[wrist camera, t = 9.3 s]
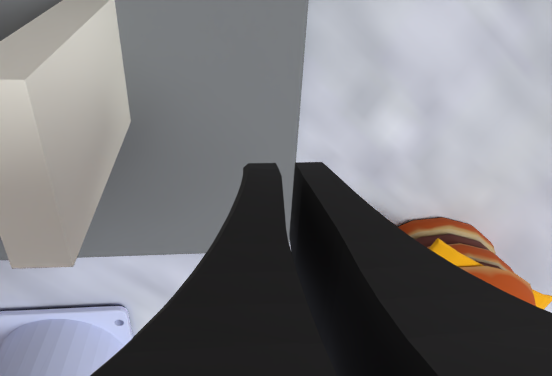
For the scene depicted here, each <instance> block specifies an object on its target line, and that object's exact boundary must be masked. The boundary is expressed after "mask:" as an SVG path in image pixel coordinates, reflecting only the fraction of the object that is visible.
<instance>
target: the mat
mask: <svg viewBox="0 0 552 376" xmlns="http://www.w3.org/2000/svg"><path fill="white" fill-rule="evenodd" d="M61 1H62V0H0V41H2V40H3V39H5V38H6V37H8V36H9V35H11V34H12V33H14V32H15V31H17V30H18V29H20V28H21V27H23V26H24V25H26V24H28V23H29V22H31V21H32V20H34V19H35V18H37V17H38V16H40V15H41V14H43V13H44V12H46V11H47V10H49V9H50V8H52V7H53V6H55V5H56V4H58V3H59V2H61ZM115 7H116V14H117V22H118V29H119V37H120V44H121V52H122V59H123V66H124V74H125V81H126V89H127V96H128V104H129V111H130V119H131V122H130V125H129V128H128V130H127V133H126V135H125V138H124V140H123V143H122V145H121V148H120V150H119V153H118V155H117V158H116V160H115V163H114V165H113V168H112V170H111V173H110V175H109V178H108V180H107V183H106V185H105V188H104V190H103V193H102V196H101V198H100V201H99V203H98V206H97V208H96V211H95V213H94V216H93V218H92V221H91V223H90V226H89V228H88V231H87V233H86V236H85V238H84V241H83V243H82V246H81V248H80V251H79V253H78V256H77V258H80V257H109V256H138V255H166V254H195V253H206V252H207V251H208V249H209V248H210V246H211V245H212V243H213V242H214V240H215V238H216V236H217V235H218V233H219V231H220V229H221V227H222V226H223V224H224V222H225V220H226V218H227V216H228V214H229V212H230V210H231V208H232V205H233V203H234V201H235V199H236V196H237V194H238V191H239V188H240V185H241V181H242V177H243V167H245V166H246V165H247V164H248V163H276V164H277V166H278V168H279V171H280V173H281V176H282V185H283V197H284V209H285V221H286V231H287V237H288V243H289V242H290V237H289V233H290V220H291V207H292V194H293V181H294V168H295V163H296V152H297V139H298V127H299V114H300V101H301V88H302V75H303V63H304V50H305V37H306V24H307V11H308V0H115ZM0 260H9V259H8V256H7V253H6V251H5V248H4V245H3V242H2V240H1V237H0Z"/></svg>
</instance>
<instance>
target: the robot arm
mask: <svg viewBox="0 0 552 376" xmlns="http://www.w3.org/2000/svg"><path fill="white" fill-rule="evenodd" d="M289 237H290V245H291V250H290V246H289V243H288V237H287V231H286V221H285V209H284V197H283V185H282V176H281V173H280V171H279V168H278V166H277V164H276V163H248V164H247V165H246V166H245V167H243V177H242V181H241V185H240V188H239V191H238V194H237V196H236V199H235V201H234V203H233V205H232V208H231V210H230V212H229V214H228V216H227V218H226V220H225V222H224V224H223V226H222V227H221V229H220V231H219V233H218V235H217V236H216V238H215V240H214V242H213V243H212V245H211V246H210V248H209V249H208V251H207V252H206V254H205V255H204V257H203V258H202V260H201V261H200V263H199V264H198V265H197V267H196V268H195V270H194V271H193V272H192V274H191V275H190V276H189V277H188V278H187V280H186V281H185V282H184V283H183V285H182V286H181V287H180V288H179V290H178V291H177V292H176V293H175V294H174V296H173V297H172V298H171V299H170V300H169V301H168V302H167V304H166V305H165V306H164V307H163V308H162V309H161V310H160V311H159V312H158V313H157V314H156V315H155V316H154V317H153V318H152V319H151V320H150V321H149V322H148V323H147V324H146V325H145V326H144V327H143V328H142V329H141V330H140V331H139V332H138V333H137V334H136V335H135V336H134V337H133V335H132V330H131V324H130V319H129V314H128V311H127V309H126V308H125V307H122V306H105V307H84V308H62V309H41V310H19V311H0V376H552V313H550V312H548V311H546V310H544V309H541V308H539V307H537V306H534V305H532V304H530V303H528V302H526V301H523V300H521V299H519V298H517V297H515V296H513V295H511V294H509V293H507V292H505V291H503V290H501V289H499V288H497V287H495V286H493V285H491V284H489V283H487V282H485V281H483V280H482V279H480V278H478V277H476V276H474V275H472V274H470V273H468V272H466V271H465V270H463V269H461V268H459V267H458V266H456V265H454V264H452V263H451V262H449V261H448V260H446V259H444V258H443V257H441V256H440V255H438V254H436V253H435V252H433V251H432V250H430V249H428V248H427V247H425V246H424V245H422V244H421V243H419V242H418V241H416V240H415V239H413V238H412V237H410V236H409V235H408V234H406V233H405V232H404V231H402V230H401V229H400V228H398V227H397V226H396V225H394V224H393V223H392V222H390V221H389V220H388V219H386V218H385V217H384V216H383V215H381V214H380V213H379V212H378V211H376V210H375V209H374V208H373V207H372V206H370V205H369V204H368V203H367V202H366V201H365V200H363V199H362V198H361V197H360V196H359V195H358V194H357V193H355V192H354V191H353V190H352V189H351V188H350V187H349V186H348V185H347V184H346V183H344V182H343V181H342V180H341V179H340V178H339V177H338V176H337V175H336V174H335V173H334V172H332V171H331V170H330V169H329V168H328V167H327V166H326V165H325V164H323V163H322V162H305V163H295V168H294V181H293V194H292V207H291V220H290V233H289Z"/></svg>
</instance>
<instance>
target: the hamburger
mask: <svg viewBox="0 0 552 376" xmlns="http://www.w3.org/2000/svg"><path fill="white" fill-rule="evenodd" d="M398 228H400V229H401V230H402V231H404V232H405V233H406V234H408V235H409V236H410V237H412V238H413V239H415V240H416V241H418V242H419V243H421V244H422V245H424V246H425V247H427V248H428V249H430V250H432V251H433V252H435V253H436V254H438V255H440V256H441V257H443V258H444V259H446V260H448V261H449V262H451V263H452V264H454V265H456V266H458V267H459V268H461V269H463V270H465V271H466V272H468V273H470V274H472V275H474V276H476V277H478V278H480V279H482V280H483V281H485V282H487V283H489V284H491V285H493V286H495V287H497V288H499V289H501V290H503V291H505V292H507V293H509V294H511V295H513V296H515V297H517V298H519V299H521V300H523V301H526V302H528V303H530V304H532V305H534V306H537V307H539V308H541V309H545V308H546V307H547V305H548V304H549V303H550V302H551V301H552V296H550V295H544V294H541V293H539V292H537V291H535V290H533V289H532V288H531V286H530V284H529V283H528V282H526V281H525V280H524V279H522V278H521V277H519V276H518V275H516V274H515V273H514V272H513V271H512V269H511V268H510V267H509V266H508V265H507V264H506V263H504V262H503V261H502V260H501V259H500V258H499V257H498V256H496V255H495V251H494V247H493V245H492V244H491V242H490V241H489V240H488V239H487V238H486V237H484V236H483V235H482V234H481V233H480V232H479V231H478V230H477V229H476V228H474V227H473V226H472V225H470V224H466V223H462V222H458V221H455V220H451V219H447V218H443V217H441V218H432V219H422V220H413V221H410V222H408V223H405V224H403V225H401V226H398Z"/></svg>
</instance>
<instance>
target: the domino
mask: <svg viewBox="0 0 552 376" xmlns="http://www.w3.org/2000/svg"><path fill="white" fill-rule="evenodd" d="M130 122H131V119H130V111H129V104H128V96H127V89H126V81H125V74H124V66H123V59H122V52H121V44H120V37H119V29H118V22H117V14H116V7H115V0H62V1H61V2H59V3H58V4H56V5H55V6H53V7H52V8H50V9H49V10H47V11H46V12H44V13H43V14H41V15H40V16H38V17H37V18H35V19H34V20H32V21H31V22H29V23H28V24H26V25H24V26H23V27H21V28H20V29H18V30H17V31H15V32H14V33H12V34H11V35H9V36H8V37H6V38H5V39H3V40H2V41H0V237H1V240H2V242H3V245H4V248H5V251H6V253H7V256H8V259H9V262H10V265H11V267H12V269H16V268H48V267H73V266H74V263H75V261H76V258H77V256H78V253H79V251H80V248H81V246H82V243H83V241H84V238H85V236H86V233H87V231H88V228H89V226H90V223H91V221H92V218H93V216H94V213H95V211H96V208H97V206H98V203H99V201H100V198H101V196H102V193H103V190H104V188H105V185H106V183H107V180H108V178H109V175H110V173H111V170H112V168H113V165H114V163H115V160H116V158H117V155H118V153H119V150H120V148H121V145H122V143H123V140H124V138H125V135H126V133H127V130H128V128H129V125H130Z"/></svg>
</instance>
